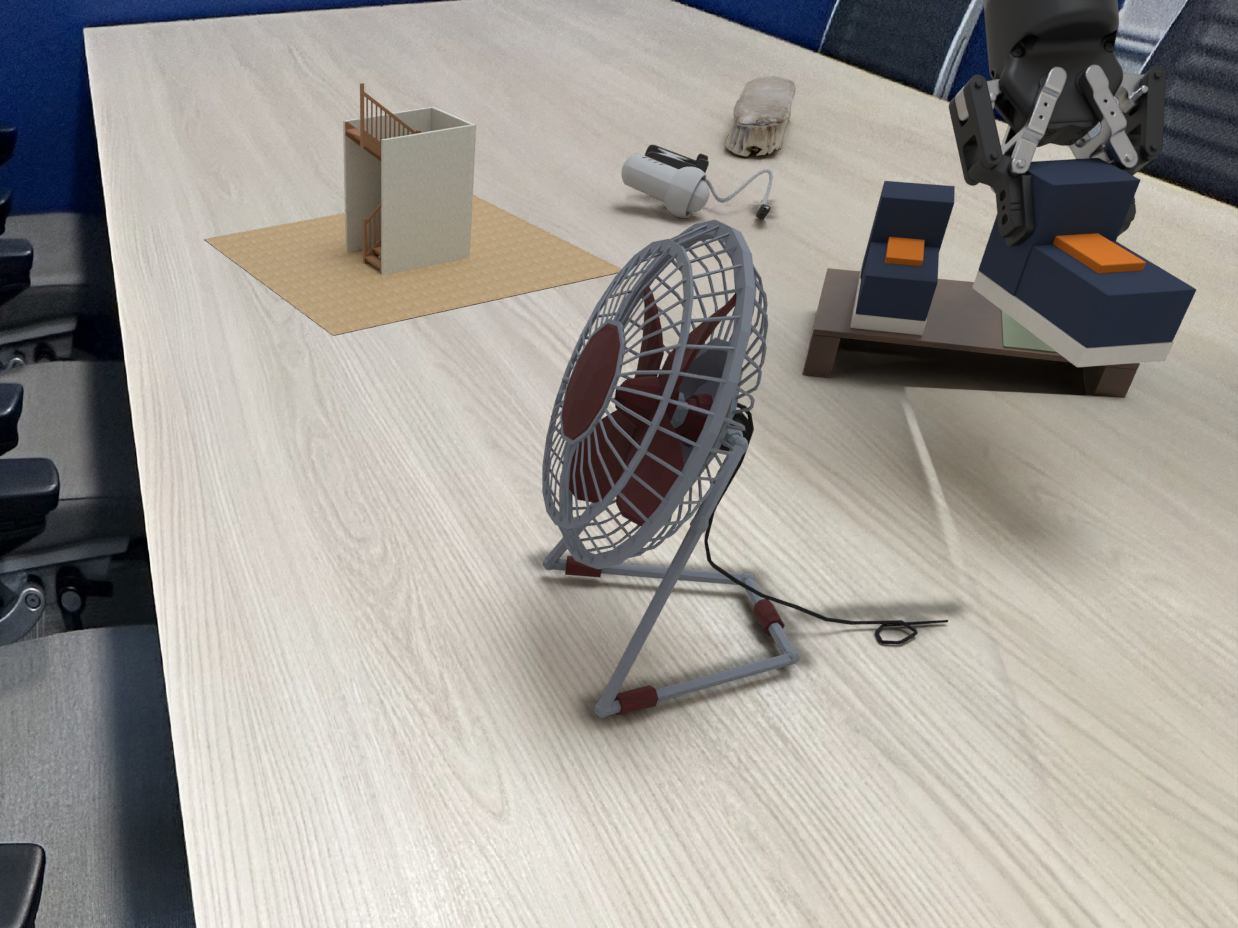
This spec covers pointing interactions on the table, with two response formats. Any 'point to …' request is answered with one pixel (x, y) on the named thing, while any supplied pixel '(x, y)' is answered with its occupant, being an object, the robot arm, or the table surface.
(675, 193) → the clip-on lamp
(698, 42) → the table surface
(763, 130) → the shoe brush
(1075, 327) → the trainer
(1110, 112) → the robot arm
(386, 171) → the staircase
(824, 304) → the shoe rack
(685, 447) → the desk fan
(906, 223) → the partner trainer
